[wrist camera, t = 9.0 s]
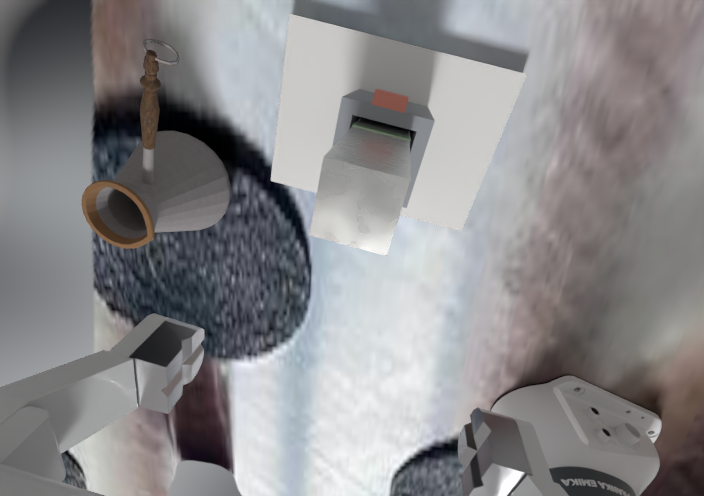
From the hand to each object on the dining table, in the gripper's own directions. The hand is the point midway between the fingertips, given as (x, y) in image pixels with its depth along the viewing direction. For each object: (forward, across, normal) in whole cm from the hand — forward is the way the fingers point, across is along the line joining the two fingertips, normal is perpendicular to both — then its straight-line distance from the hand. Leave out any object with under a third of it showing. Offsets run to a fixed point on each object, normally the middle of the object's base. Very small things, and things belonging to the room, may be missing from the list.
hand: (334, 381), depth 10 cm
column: (+24, -1, +2) cm, 24 cm away
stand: (+31, -1, +2) cm, 31 cm away
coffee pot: (+31, -20, -4) cm, 37 cm away
